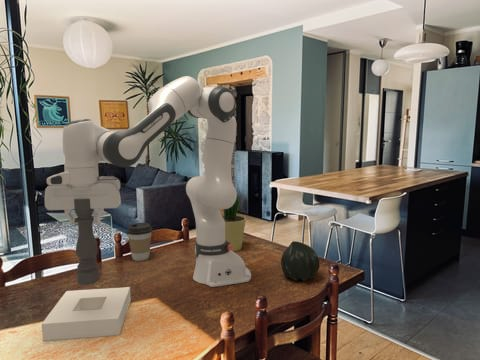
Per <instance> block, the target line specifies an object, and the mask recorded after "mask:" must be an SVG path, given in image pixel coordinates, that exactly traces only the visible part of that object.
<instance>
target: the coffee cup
mask: <svg viewBox="0 0 480 360" xmlns="http://www.w3.org/2000/svg"><path fill="white" fill-rule="evenodd" d="M127 227H128V228H127V229H126V231H125V232H126V234H127V238H128V244H129V250H130V255H131V258H132V260H133V261H135V262H143V261H146V260H148V259H149V258H150V252H151V239H152V232H153V227H152V226H151V223H147V222H136V223H135V222H134V223H131V224H129V225H128V226H127Z"/></svg>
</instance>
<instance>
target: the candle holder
mask: <svg viewBox="0 0 480 360" xmlns="http://www.w3.org/2000/svg"><path fill="white" fill-rule="evenodd" d="M73 210H74V213H75V214H76V216H77V218H76V219H75V222H77V228H78V229H77V230H78V235H77V240H76V246H75V251H74V252H75V256H77V258H78V261H79V262H78V264H77V266H76V267H77V270H76V282H77V285H81V286H88V285H93V284H96V283H98V282H99V281H100V268H99V267H98V266H99V264H98V262H97V261H96V256H97V254H98V252H99V249H98V248H99V247H98V244H97V241H96V238H95V235H94V229H93V223H94V217H95V216H93V213H94V211H95V209H91V207H90V199H74V209H73Z"/></svg>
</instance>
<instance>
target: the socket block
mask: <svg viewBox="0 0 480 360" xmlns="http://www.w3.org/2000/svg"><path fill="white" fill-rule="evenodd" d="M130 304H131V287H130V286H127V287H125V286H124V287H110V288H109V287H108V288H93V289H92V288H91V289H78V290H77V289H76V290H66V291H65V293H63V295H62V296H61V298H60V299H59V300H58V301H57V303H56V304H55V306H54V307H52V310H51V311H50V312H49V314H48V315H47V316H46V318H45V319H44V320H42V321H43V322H42V323H41V330H42V331H41V333H42V341H43V342H48V341H49V342H50V341H61V340H62V341H64V340H75V339H86V338H99V337H112V336H120V334H121V331H122V328H123V325H124V322H125V319H126V316H127V313H128V311H129V308H130Z"/></svg>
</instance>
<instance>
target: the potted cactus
mask: <svg viewBox="0 0 480 360" xmlns="http://www.w3.org/2000/svg"><path fill="white" fill-rule="evenodd" d="M236 192H238V191H237V189H236ZM238 196H239V195H237V198H236V201H235V203H234V204H233V206H231V207H230V208H228V209H222V211H223V214H221V215H222V217H223V218H224V221H225V240H226V241H227V240H228V241H229V242H230V244H231V245H232V246H233V249H232V251H233V252H238V251H240V250H241V249H242V247H243V241H244V235H245V234H244V232H245V227H246V220H247V218H246V216H245V215H241V214H238V209H239V207H238V206H240V205H241V204H240V199H239V197H238Z"/></svg>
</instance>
